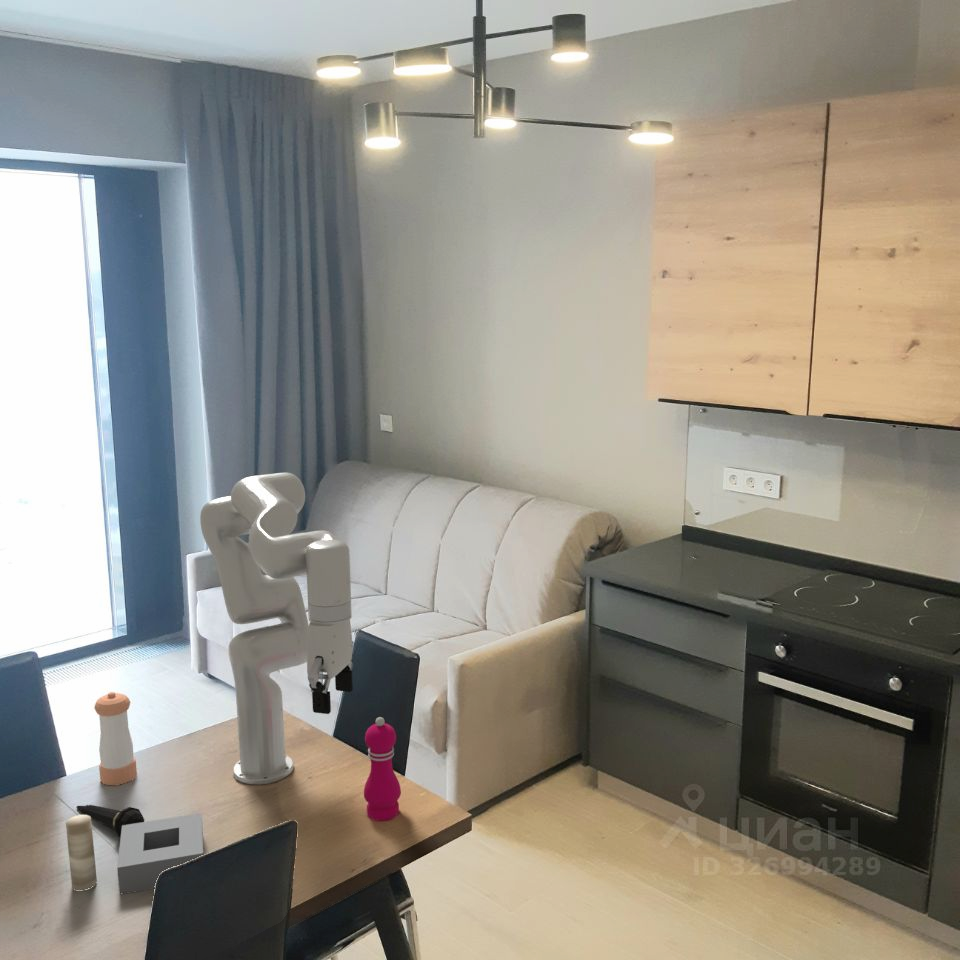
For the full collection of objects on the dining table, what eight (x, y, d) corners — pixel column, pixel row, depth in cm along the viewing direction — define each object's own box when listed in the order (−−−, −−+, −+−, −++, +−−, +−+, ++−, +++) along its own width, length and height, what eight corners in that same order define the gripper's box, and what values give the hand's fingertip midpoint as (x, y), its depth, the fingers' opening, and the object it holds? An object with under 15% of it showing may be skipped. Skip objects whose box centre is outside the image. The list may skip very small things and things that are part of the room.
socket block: (124, 850, 175) (122, 825, 175) (203, 837, 180) (201, 812, 179) (119, 894, 162) (117, 867, 161) (205, 879, 166) (203, 853, 165)
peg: (73, 880, 167) (67, 816, 164) (97, 875, 168) (92, 813, 166) (70, 893, 163) (64, 828, 161) (95, 888, 164) (89, 824, 162)
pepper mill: (395, 824, 183) (392, 726, 180) (359, 820, 185) (355, 724, 181) (405, 805, 190) (403, 711, 187) (371, 801, 192) (367, 708, 188)
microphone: (72, 828, 189) (132, 847, 178) (59, 805, 187) (119, 824, 176) (95, 808, 193) (155, 826, 182) (82, 786, 191) (142, 803, 180)
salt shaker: (137, 781, 201) (130, 696, 197) (100, 788, 198) (92, 702, 195) (135, 766, 207) (129, 683, 204) (100, 773, 205) (92, 689, 201)
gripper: (330, 594, 177) (333, 681, 180) (288, 624, 161) (292, 719, 164) (368, 597, 175) (370, 684, 178) (329, 628, 159) (332, 724, 162)
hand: (333, 701), depth 171 cm, fingers open, 9 cm apart
